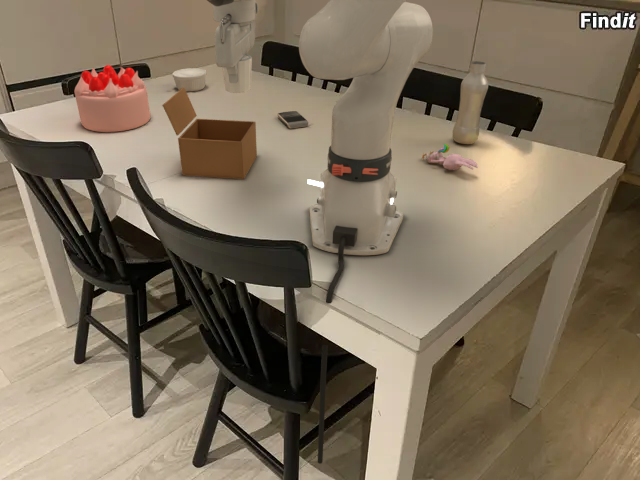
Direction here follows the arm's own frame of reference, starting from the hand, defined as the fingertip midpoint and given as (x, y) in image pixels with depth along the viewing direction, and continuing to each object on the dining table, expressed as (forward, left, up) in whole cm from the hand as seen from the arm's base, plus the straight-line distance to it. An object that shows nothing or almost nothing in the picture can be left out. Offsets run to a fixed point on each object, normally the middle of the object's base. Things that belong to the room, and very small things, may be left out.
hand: (237, 78), depth 125 cm
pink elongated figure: (+5, -49, -21) cm, 53 cm away
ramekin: (+61, +33, -21) cm, 73 cm away
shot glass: (0, 0, -3) cm, 3 cm away
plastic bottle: (+23, -54, -21) cm, 62 cm away
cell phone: (+32, -7, -21) cm, 39 cm away
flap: (-1, +14, -7) cm, 15 cm away
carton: (-1, +5, -21) cm, 21 cm away
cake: (+25, +44, -21) cm, 55 cm away
